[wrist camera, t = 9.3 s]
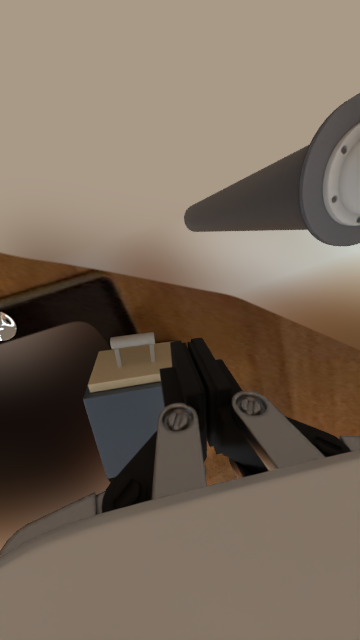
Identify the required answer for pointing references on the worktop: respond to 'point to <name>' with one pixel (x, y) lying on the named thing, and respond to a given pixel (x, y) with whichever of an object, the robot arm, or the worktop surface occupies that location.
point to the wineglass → (7, 327)
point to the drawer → (130, 363)
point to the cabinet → (123, 422)
